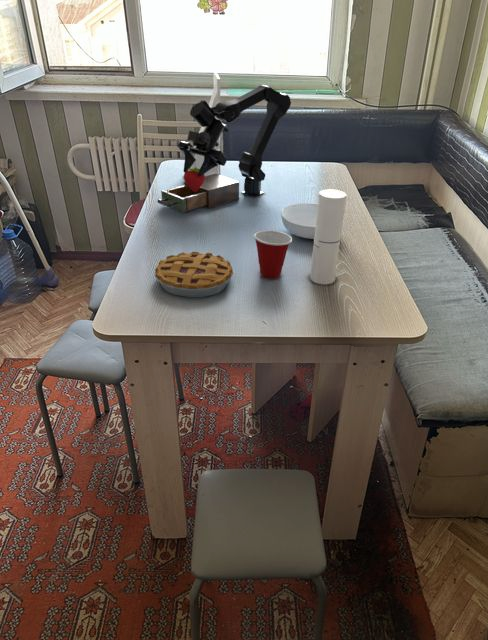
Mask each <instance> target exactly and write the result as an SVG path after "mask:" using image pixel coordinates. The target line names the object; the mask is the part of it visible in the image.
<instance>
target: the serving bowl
mask: <svg viewBox="0 0 488 640" xmlns="http://www.w3.org/2000/svg"><path fill="white" fill-rule="evenodd" d="M317 210H318V203H311V202H310V203H306V202H305V203H296V204H291V205H288V206H285V207H284V208H283V209H282V210H281V213H280V214H281V215H280V217H281V222H282V225H283V226H284V228H285V229H286V231H288V232H289V233H290V234H292V235H294V236H296V237H299V238H303V239H307V240H314V237H315V228H316V219H317Z"/></svg>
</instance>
